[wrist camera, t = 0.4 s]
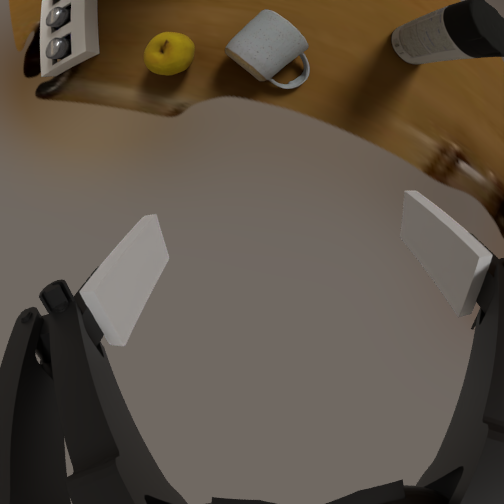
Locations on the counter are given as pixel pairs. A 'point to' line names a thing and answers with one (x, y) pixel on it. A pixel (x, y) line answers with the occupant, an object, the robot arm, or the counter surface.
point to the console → (80, 30)
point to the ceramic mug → (269, 48)
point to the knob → (58, 48)
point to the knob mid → (58, 17)
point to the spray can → (452, 34)
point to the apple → (169, 53)
